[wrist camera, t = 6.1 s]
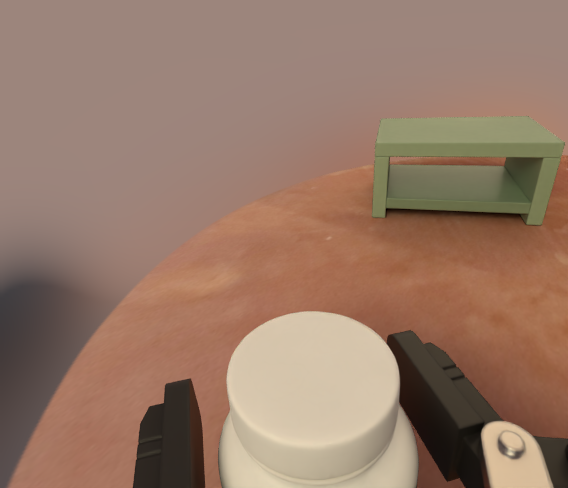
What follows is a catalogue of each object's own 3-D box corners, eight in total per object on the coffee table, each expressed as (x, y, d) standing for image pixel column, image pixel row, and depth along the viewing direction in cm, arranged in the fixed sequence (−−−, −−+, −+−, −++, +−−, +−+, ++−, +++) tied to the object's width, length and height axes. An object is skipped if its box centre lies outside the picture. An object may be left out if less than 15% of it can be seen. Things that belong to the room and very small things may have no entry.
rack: (512, 184, 40) (528, 116, 37) (541, 225, 32) (565, 142, 29) (377, 181, 44) (380, 118, 41) (371, 217, 36) (375, 142, 32)
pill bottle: (297, 448, 16) (283, 276, 12) (421, 521, 14) (459, 332, 9) (211, 579, 13) (147, 396, 8) (360, 716, 10) (377, 548, 6)
